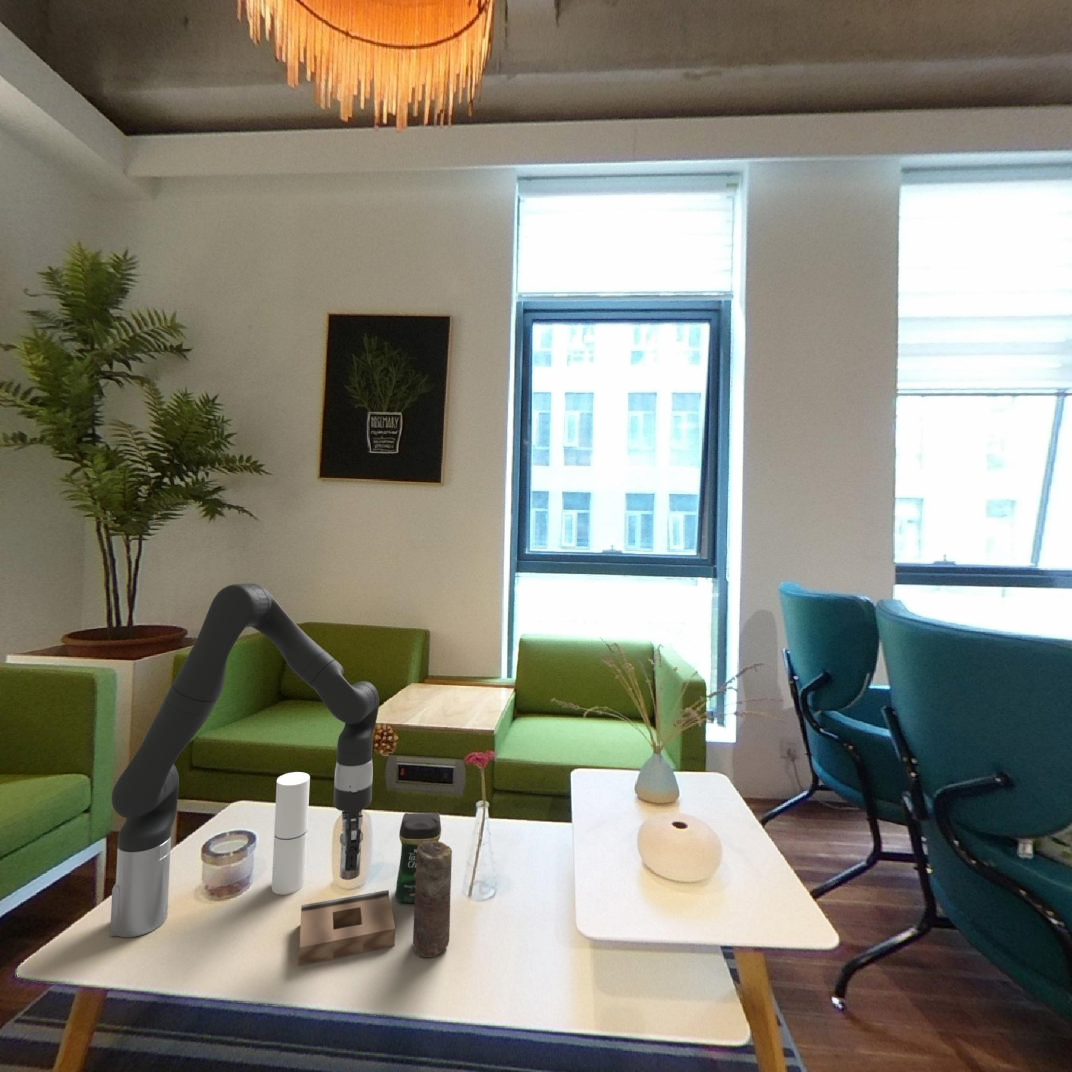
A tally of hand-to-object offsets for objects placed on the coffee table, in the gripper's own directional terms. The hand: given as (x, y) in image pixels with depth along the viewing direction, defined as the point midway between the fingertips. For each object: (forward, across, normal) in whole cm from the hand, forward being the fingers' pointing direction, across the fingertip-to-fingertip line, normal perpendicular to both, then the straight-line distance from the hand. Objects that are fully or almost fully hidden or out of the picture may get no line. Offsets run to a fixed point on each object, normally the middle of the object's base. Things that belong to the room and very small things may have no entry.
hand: (350, 863), depth 118 cm
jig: (+15, 0, 0) cm, 15 cm away
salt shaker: (+2, 0, 0) cm, 2 cm away
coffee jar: (+15, -9, +16) cm, 24 cm away
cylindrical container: (+15, -21, -12) cm, 28 cm away
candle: (+15, +8, +16) cm, 23 cm away
